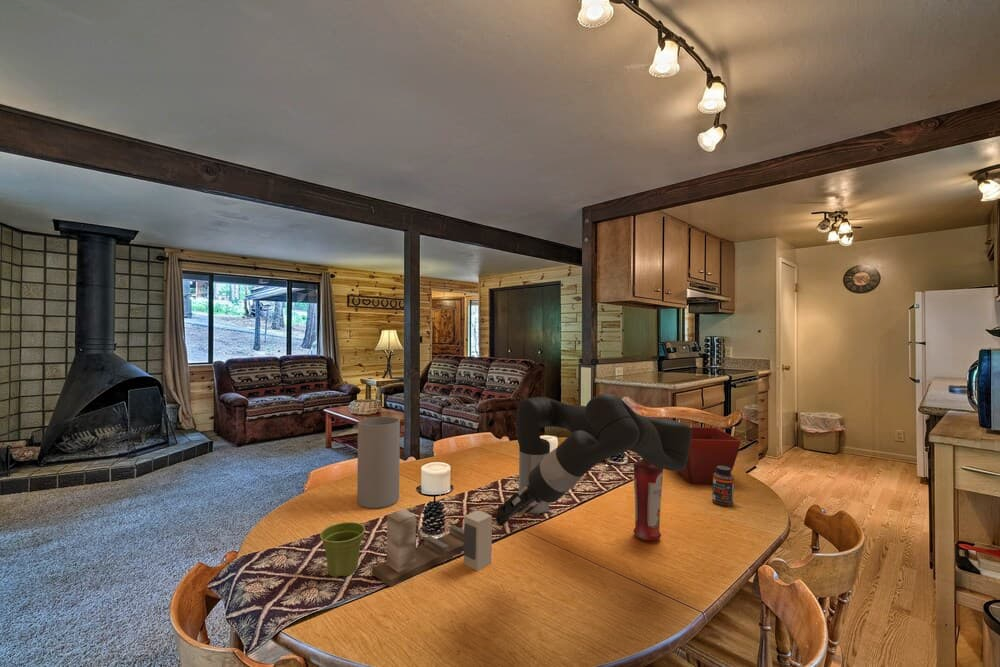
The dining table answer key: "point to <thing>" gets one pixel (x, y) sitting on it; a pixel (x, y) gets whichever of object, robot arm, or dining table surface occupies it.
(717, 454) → the plant pot
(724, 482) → the supplement bottle
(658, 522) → the liquor
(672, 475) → the dining table surface
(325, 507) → the dining table surface
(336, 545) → the plant pot
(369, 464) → the cylinder vase
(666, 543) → the dining table surface
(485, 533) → the block
